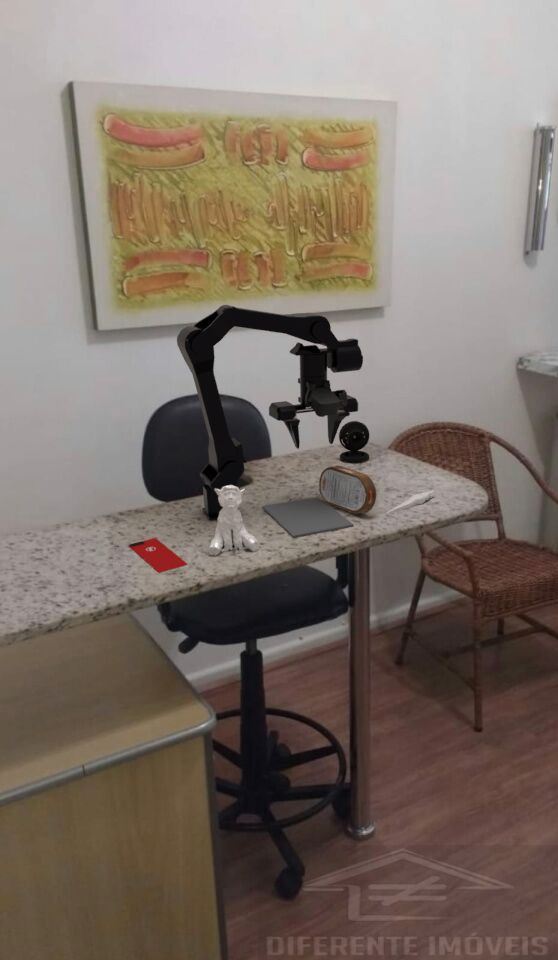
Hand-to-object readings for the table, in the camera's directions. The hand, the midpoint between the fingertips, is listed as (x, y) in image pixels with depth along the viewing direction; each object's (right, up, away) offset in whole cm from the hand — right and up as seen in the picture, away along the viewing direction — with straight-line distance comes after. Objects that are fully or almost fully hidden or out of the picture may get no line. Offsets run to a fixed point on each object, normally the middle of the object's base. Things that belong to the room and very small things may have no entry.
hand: (314, 445), depth 163 cm
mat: (-2, -15, -7) cm, 17 cm away
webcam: (+12, -2, +29) cm, 31 cm away
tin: (+6, -14, -4) cm, 15 cm away
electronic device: (-31, -22, -22) cm, 44 cm away
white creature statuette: (-17, -20, -19) cm, 33 cm away
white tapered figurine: (+20, -13, -3) cm, 24 cm away
